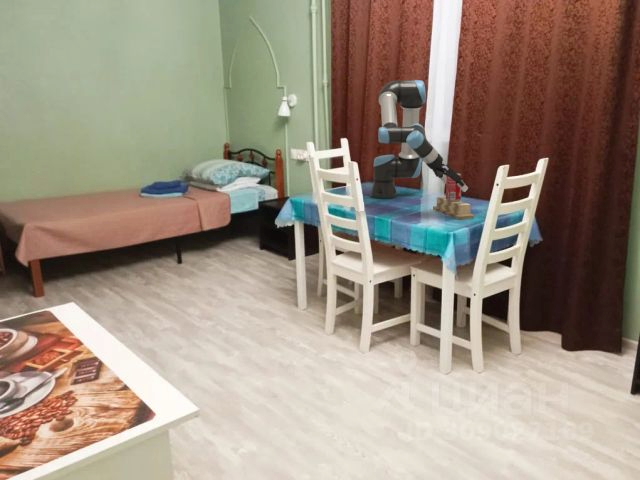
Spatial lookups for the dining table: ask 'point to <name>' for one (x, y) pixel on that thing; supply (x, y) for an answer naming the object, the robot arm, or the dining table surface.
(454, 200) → the soda can
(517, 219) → the dining table surface
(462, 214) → the ridge
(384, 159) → the robot arm
